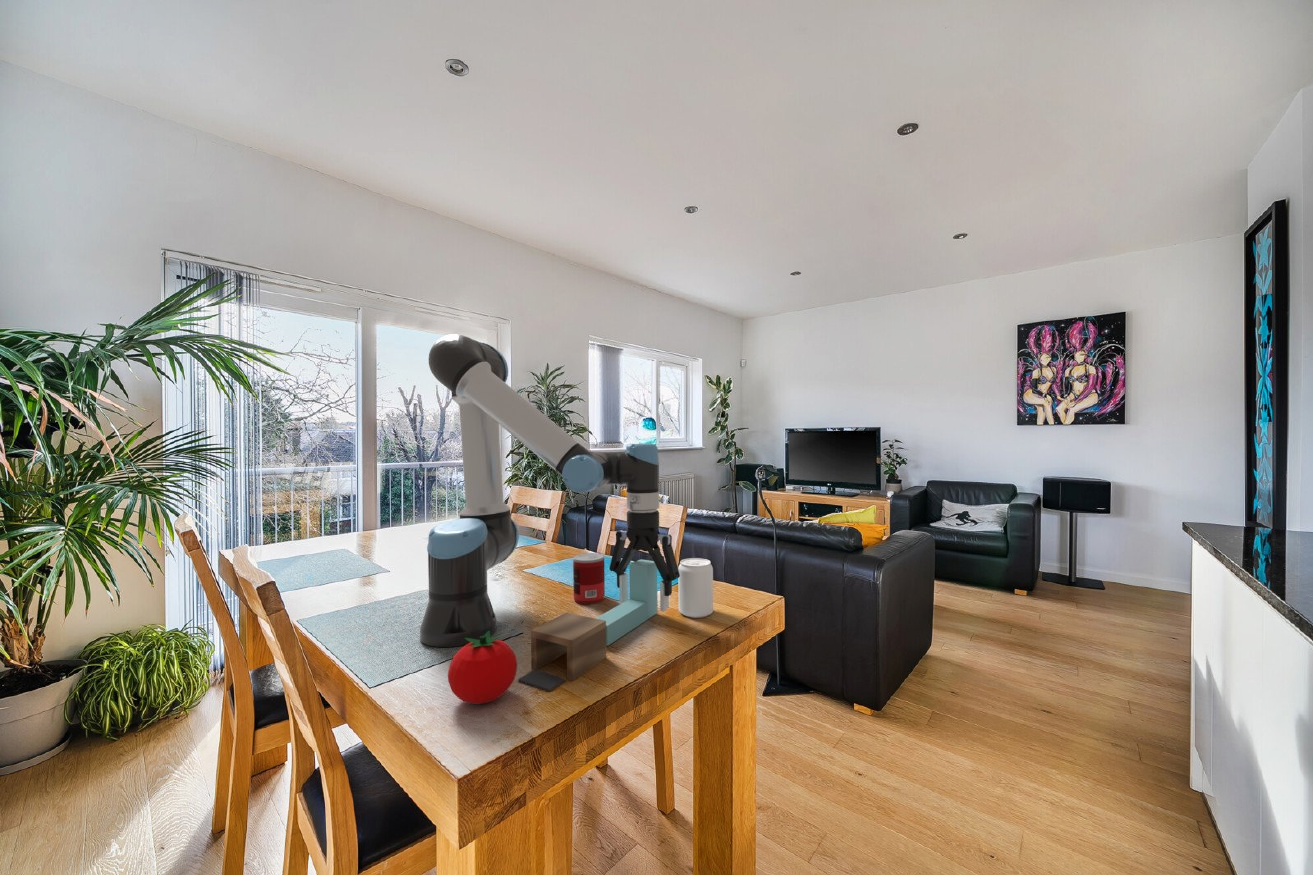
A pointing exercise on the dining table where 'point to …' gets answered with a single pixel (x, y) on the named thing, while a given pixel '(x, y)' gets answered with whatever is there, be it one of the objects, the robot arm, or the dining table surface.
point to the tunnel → (569, 643)
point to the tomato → (482, 670)
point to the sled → (634, 602)
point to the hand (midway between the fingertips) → (643, 605)
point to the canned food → (588, 578)
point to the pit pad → (541, 680)
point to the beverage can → (695, 587)
